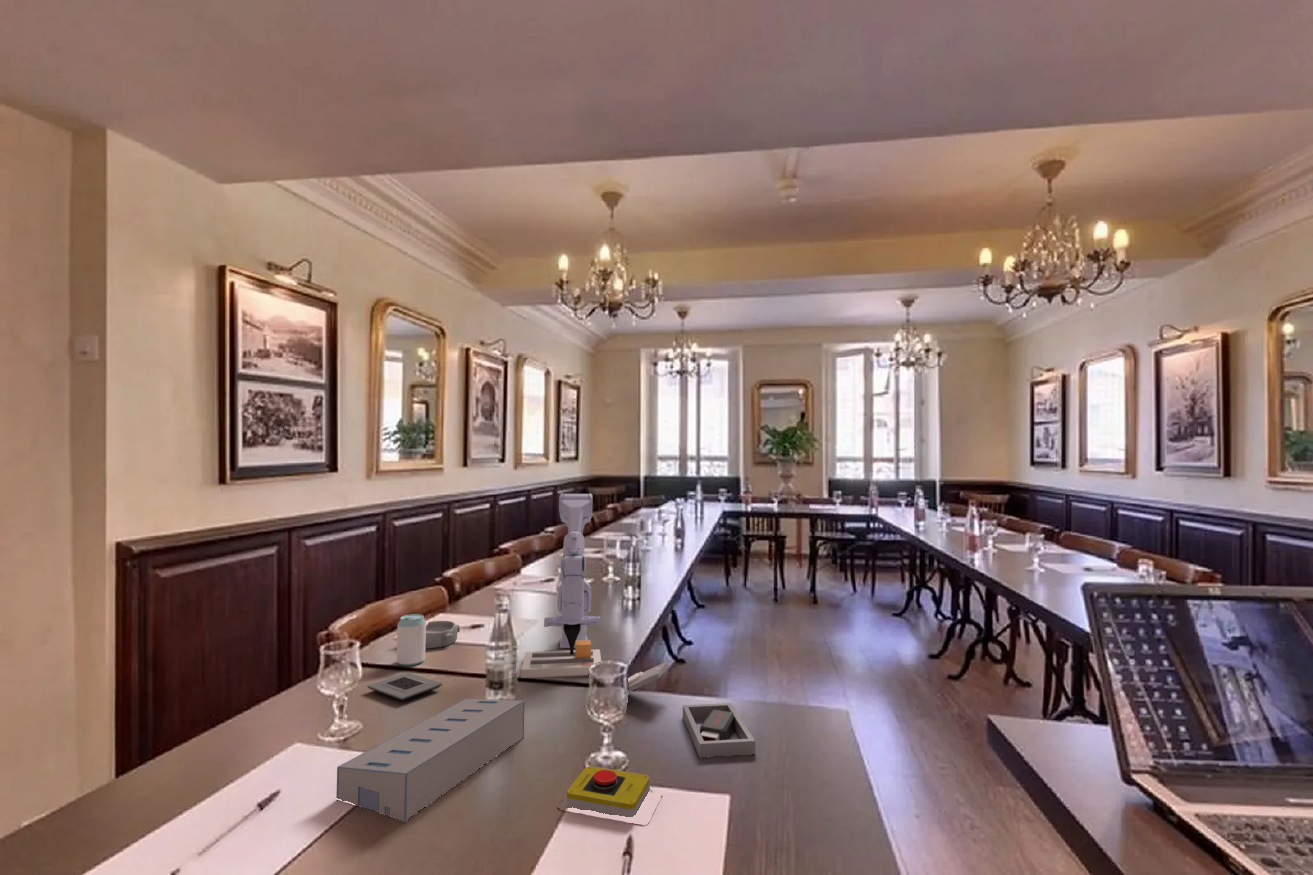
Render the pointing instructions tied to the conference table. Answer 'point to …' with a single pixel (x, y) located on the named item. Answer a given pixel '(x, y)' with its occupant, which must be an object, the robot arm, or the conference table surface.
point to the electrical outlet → (404, 686)
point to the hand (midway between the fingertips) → (571, 653)
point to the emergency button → (608, 791)
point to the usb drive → (717, 725)
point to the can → (411, 639)
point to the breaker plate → (557, 663)
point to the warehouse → (430, 757)
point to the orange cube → (583, 649)
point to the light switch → (646, 676)
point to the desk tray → (719, 746)
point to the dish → (441, 633)
